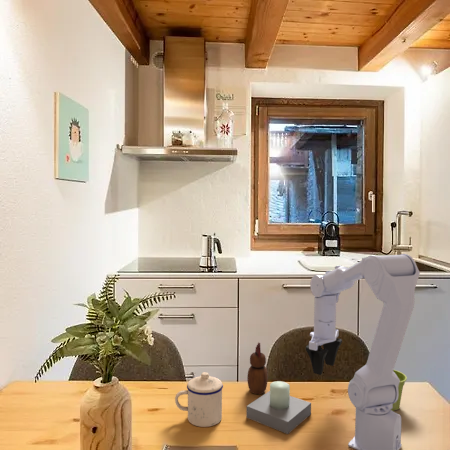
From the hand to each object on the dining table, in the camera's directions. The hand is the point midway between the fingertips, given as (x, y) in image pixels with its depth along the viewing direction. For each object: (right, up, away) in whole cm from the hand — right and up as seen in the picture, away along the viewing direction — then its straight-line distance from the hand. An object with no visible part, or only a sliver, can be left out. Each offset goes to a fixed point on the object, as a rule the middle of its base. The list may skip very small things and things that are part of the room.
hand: (323, 369), depth 112 cm
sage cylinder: (-13, -7, -6) cm, 16 cm away
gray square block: (-13, -10, -5) cm, 17 cm away
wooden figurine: (-17, -10, +8) cm, 21 cm away
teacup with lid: (-33, -10, -7) cm, 36 cm away
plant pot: (+17, -10, 0) cm, 20 cm away
